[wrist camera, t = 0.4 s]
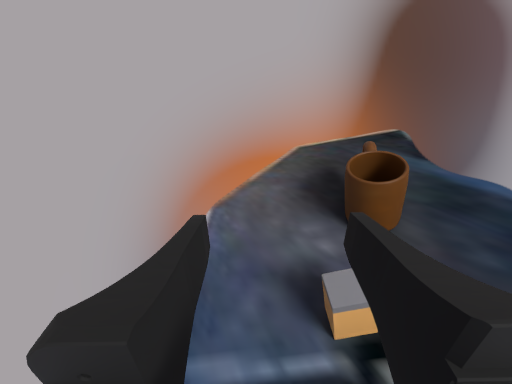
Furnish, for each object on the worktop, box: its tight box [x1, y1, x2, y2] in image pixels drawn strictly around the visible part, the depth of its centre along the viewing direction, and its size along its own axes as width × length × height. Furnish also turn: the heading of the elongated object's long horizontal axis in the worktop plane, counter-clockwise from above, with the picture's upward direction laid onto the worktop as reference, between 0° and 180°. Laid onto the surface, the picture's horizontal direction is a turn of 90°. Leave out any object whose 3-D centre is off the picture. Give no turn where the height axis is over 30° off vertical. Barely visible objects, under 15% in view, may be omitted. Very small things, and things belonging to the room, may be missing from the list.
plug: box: [322, 268, 378, 340], centre depth 26 cm, size 4×4×7 cm
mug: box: [345, 141, 409, 231], centre depth 37 cm, size 12×8×9 cm, turn 168°
